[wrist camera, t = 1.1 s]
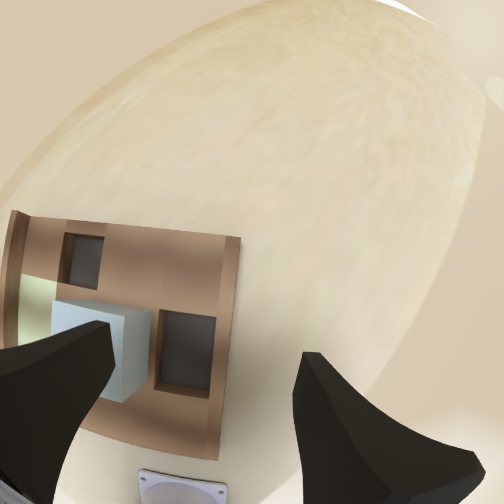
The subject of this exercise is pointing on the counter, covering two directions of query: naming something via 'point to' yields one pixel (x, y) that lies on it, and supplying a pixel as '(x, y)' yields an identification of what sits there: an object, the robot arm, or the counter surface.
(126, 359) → the blue block
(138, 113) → the counter surface
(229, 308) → the board
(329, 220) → the counter surface
